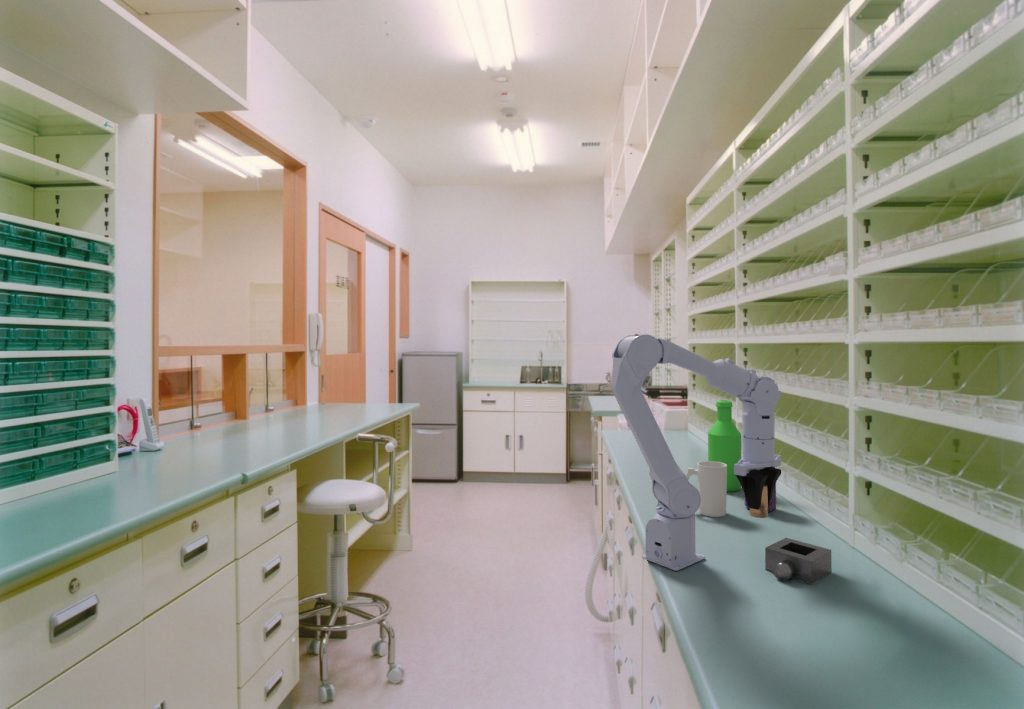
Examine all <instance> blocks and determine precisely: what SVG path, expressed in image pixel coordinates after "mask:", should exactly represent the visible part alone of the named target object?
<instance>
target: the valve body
mask: <svg viewBox="0 0 1024 709" xmlns="http://www.w3.org/2000/svg"><path fill="white" fill-rule="evenodd" d="M764 548H765V550H764V551H765V554H764V555H765V560H764V561H765V565H764V566H765V567H764V568H765V570H766V571H769V572H771V573H773V575H774V577H775V578H776V579H777V580H779V581H781V582H785V581H788V580H789V579H793V580H796V581H799V582H802V583H805V584H808V585H813V584H814V583H817V582H818V581H820V580H821V579H823V578H824V577H826V576H828V575H829V574H831V573H832V549H830V548H825V547H822V546H818V545H814V544H811V543H807V542H803V541H800V540H796V539H792V538H789V537H785V538H782V539H781V540H778V541H775V542H774V543H772V544H769V545H768V546H766V547H764Z"/></svg>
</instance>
